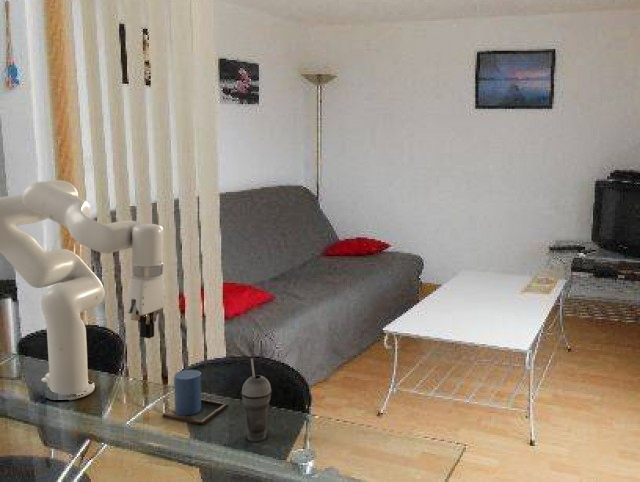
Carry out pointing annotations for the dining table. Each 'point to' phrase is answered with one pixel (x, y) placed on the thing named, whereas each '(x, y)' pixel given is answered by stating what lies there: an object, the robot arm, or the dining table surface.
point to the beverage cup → (256, 405)
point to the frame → (194, 421)
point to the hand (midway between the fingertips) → (147, 336)
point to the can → (187, 392)
